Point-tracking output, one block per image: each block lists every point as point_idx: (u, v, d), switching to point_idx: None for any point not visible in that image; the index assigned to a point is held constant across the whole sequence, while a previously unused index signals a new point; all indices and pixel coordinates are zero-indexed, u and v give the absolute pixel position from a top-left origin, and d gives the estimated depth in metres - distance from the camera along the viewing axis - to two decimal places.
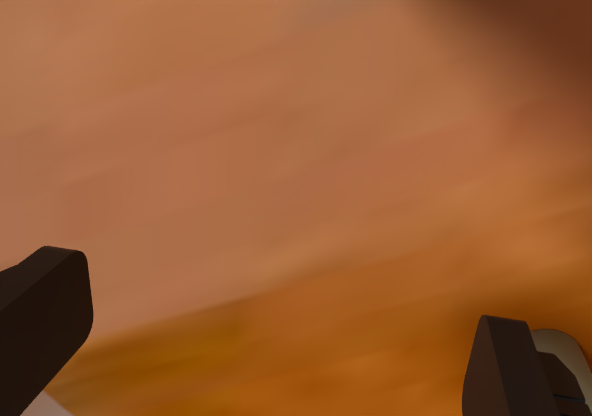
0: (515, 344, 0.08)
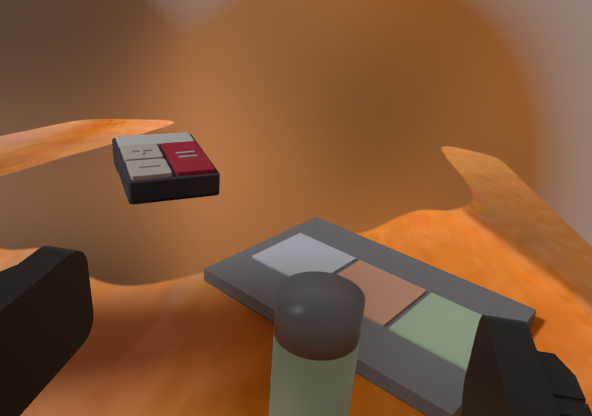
0: (515, 344, 0.08)
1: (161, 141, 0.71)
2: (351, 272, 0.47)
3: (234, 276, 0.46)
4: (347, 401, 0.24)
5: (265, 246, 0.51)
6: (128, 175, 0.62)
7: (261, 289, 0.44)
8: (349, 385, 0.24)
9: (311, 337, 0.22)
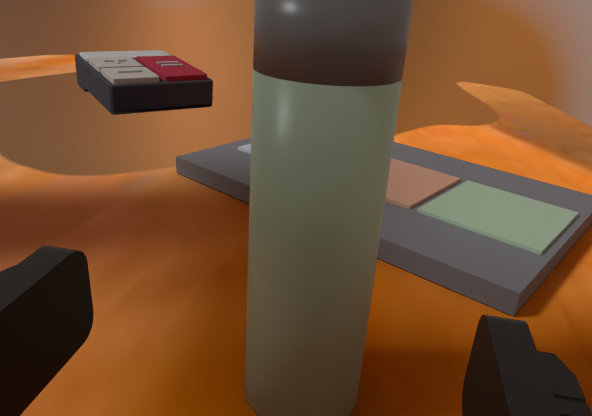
0: (515, 344, 0.08)
1: (134, 56, 0.62)
2: None
3: (214, 163, 0.36)
4: (380, 195, 0.14)
5: None
6: (107, 80, 0.52)
7: (248, 174, 0.34)
8: (384, 161, 0.14)
9: (319, 32, 0.12)
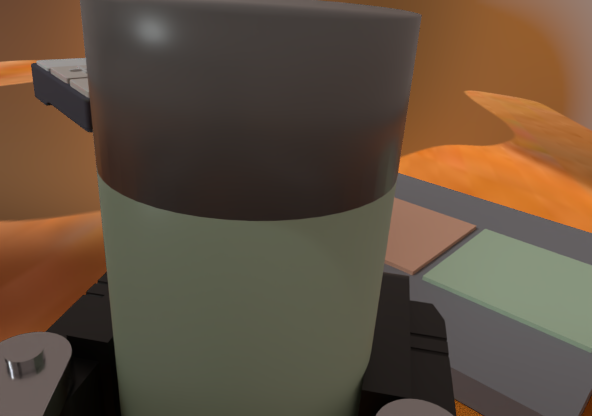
0: (392, 293, 0.10)
1: None
2: None
3: None
4: (354, 394, 0.07)
5: None
6: (80, 94, 0.46)
7: None
8: (361, 339, 0.07)
9: (197, 104, 0.05)
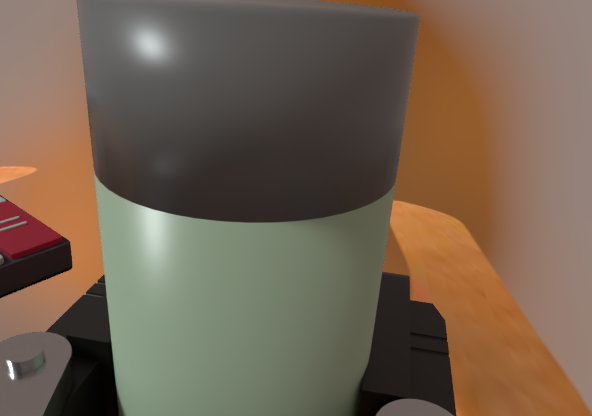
0: (392, 292, 0.10)
1: None
2: None
3: None
4: (353, 396, 0.07)
5: None
6: None
7: None
8: (360, 341, 0.07)
9: (194, 105, 0.05)
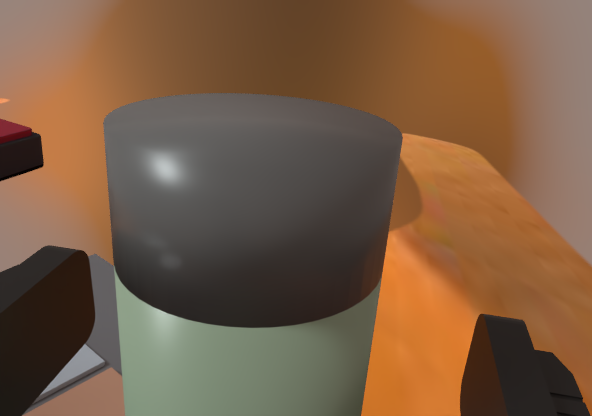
0: (513, 343, 0.09)
1: None
2: (61, 410, 0.19)
3: None
4: None
5: None
6: None
7: None
8: (350, 415, 0.08)
9: (207, 234, 0.06)
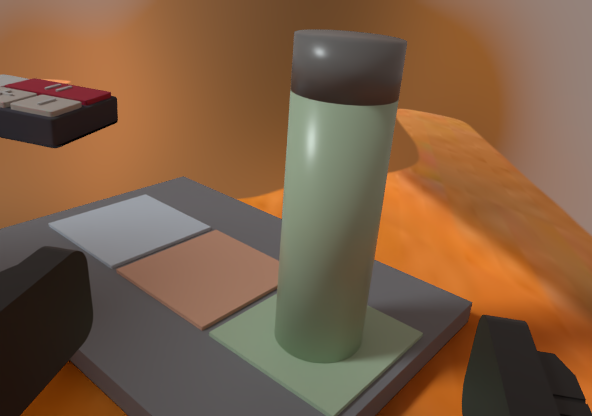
0: (515, 344, 0.08)
1: None
2: (192, 246, 0.31)
3: None
4: (381, 184, 0.20)
5: (81, 211, 0.34)
6: (37, 115, 0.49)
7: None
8: (384, 159, 0.19)
9: (341, 68, 0.17)
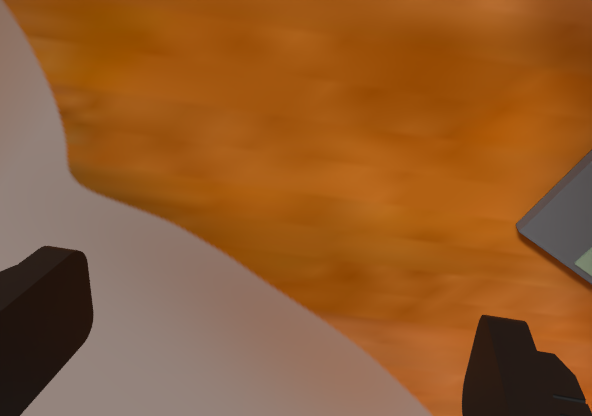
0: (515, 344, 0.08)
1: None
2: None
3: None
4: None
5: None
6: None
7: None
8: None
9: None
